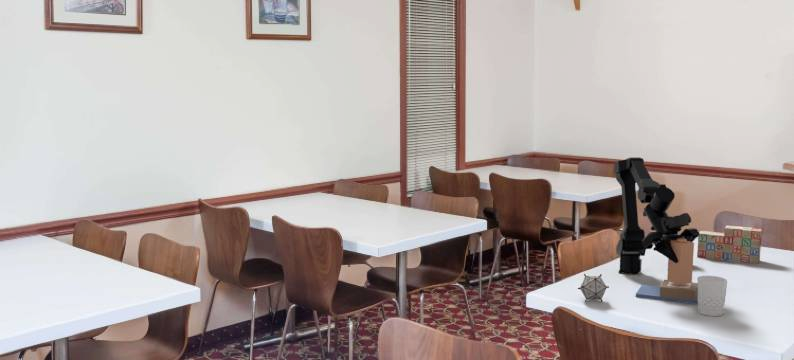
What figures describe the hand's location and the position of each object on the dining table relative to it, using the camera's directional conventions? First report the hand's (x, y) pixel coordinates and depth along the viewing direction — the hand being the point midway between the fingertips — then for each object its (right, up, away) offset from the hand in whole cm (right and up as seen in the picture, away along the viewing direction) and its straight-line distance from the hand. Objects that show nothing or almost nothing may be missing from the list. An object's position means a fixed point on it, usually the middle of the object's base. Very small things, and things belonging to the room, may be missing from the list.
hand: (683, 261), depth 243 cm
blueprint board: (-2, -11, +4) cm, 12 cm away
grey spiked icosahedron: (-28, -12, -1) cm, 30 cm away
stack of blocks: (+37, -5, +57) cm, 68 cm away
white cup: (+3, -14, -13) cm, 19 cm away
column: (-1, -6, +2) cm, 7 cm away
